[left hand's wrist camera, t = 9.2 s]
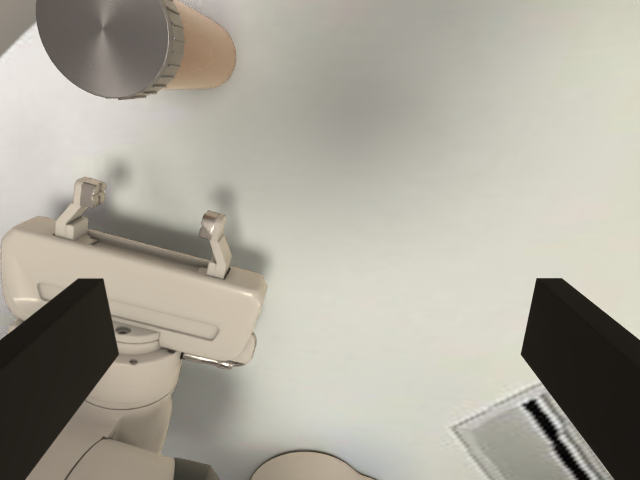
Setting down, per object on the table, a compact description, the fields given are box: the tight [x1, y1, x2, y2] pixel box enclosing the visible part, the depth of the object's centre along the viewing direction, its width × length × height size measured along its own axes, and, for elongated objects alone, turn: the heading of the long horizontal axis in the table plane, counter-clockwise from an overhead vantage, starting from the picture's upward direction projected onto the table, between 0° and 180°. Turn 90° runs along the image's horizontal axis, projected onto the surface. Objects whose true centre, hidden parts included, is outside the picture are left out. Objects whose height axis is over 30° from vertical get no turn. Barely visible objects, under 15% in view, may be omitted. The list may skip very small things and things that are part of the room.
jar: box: [161, 0, 236, 90], centre depth 26 cm, size 5×5×16 cm
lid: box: [36, 0, 186, 100], centre depth 19 cm, size 6×6×2 cm
